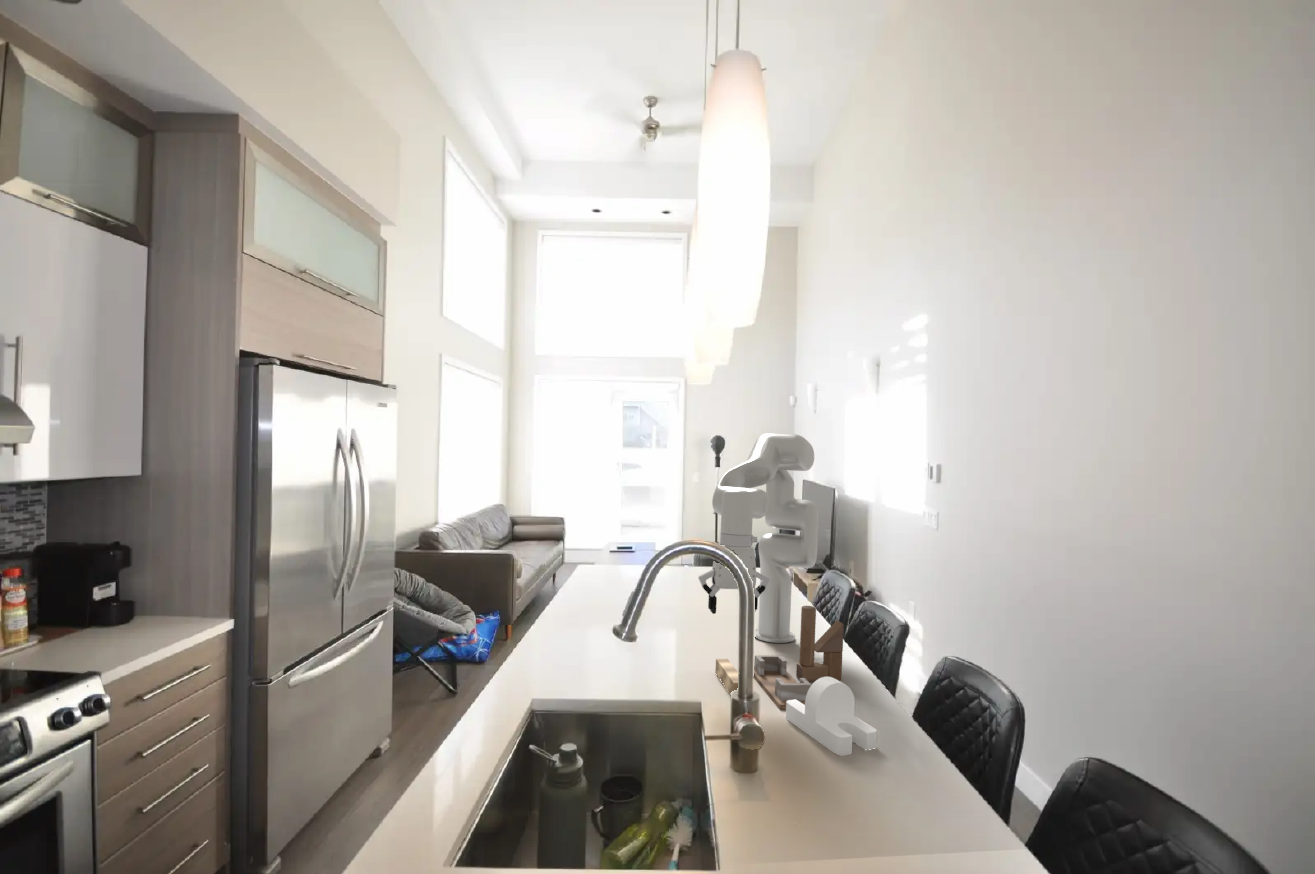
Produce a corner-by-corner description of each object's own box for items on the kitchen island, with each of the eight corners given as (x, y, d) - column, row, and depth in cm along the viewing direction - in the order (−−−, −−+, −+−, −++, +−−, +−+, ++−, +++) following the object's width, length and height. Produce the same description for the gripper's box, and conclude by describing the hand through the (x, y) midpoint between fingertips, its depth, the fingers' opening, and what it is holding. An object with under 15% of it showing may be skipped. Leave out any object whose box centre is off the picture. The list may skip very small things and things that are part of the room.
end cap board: (747, 670, 160) (748, 652, 160) (781, 670, 161) (782, 652, 162) (779, 709, 136) (780, 688, 137) (818, 708, 138) (819, 688, 138)
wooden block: (841, 681, 156) (844, 608, 156) (801, 682, 153) (804, 609, 154) (834, 675, 159) (837, 605, 160) (795, 677, 157) (798, 605, 157)
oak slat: (715, 674, 157) (715, 658, 157) (726, 674, 157) (727, 658, 157) (732, 700, 141) (733, 682, 141) (745, 700, 142) (746, 682, 142)
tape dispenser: (838, 757, 116) (841, 699, 117) (783, 717, 133) (785, 666, 133) (878, 750, 120) (881, 693, 120) (820, 712, 137) (822, 662, 137)
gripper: (765, 539, 155) (762, 609, 154) (697, 537, 152) (694, 608, 152) (775, 544, 147) (772, 617, 147) (704, 542, 145) (700, 616, 144)
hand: (732, 612), depth 149 cm, fingers open, 9 cm apart
